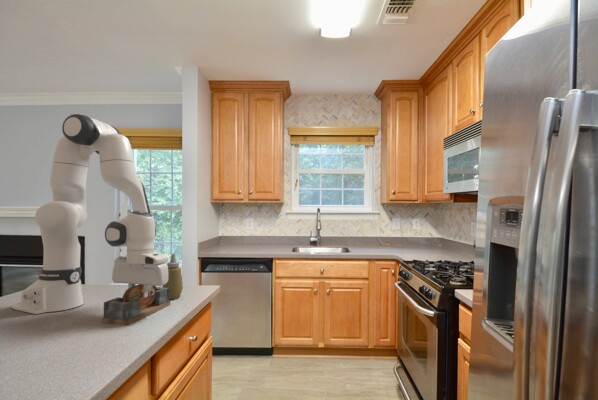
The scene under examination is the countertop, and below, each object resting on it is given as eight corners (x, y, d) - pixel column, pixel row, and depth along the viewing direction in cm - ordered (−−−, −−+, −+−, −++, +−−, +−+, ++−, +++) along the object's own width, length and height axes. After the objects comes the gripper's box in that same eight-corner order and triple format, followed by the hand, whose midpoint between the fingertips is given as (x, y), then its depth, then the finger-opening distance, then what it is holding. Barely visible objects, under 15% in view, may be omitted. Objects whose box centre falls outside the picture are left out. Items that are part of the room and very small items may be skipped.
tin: (127, 315, 103) (129, 290, 103) (119, 314, 104) (120, 289, 104) (156, 302, 118) (158, 280, 118) (149, 301, 118) (150, 279, 119)
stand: (101, 322, 100) (102, 302, 101) (147, 303, 122) (147, 286, 122) (128, 325, 99) (129, 304, 99) (170, 305, 120) (170, 287, 120)
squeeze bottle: (175, 294, 136) (176, 252, 136) (186, 297, 131) (187, 254, 131) (157, 298, 129) (158, 254, 130) (168, 301, 124) (170, 256, 125)
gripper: (108, 257, 110) (106, 297, 109) (160, 259, 106) (159, 301, 106) (121, 254, 116) (120, 292, 116) (171, 257, 112) (170, 296, 112)
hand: (139, 296), depth 111 cm, fingers closed on tin, 2 cm apart
